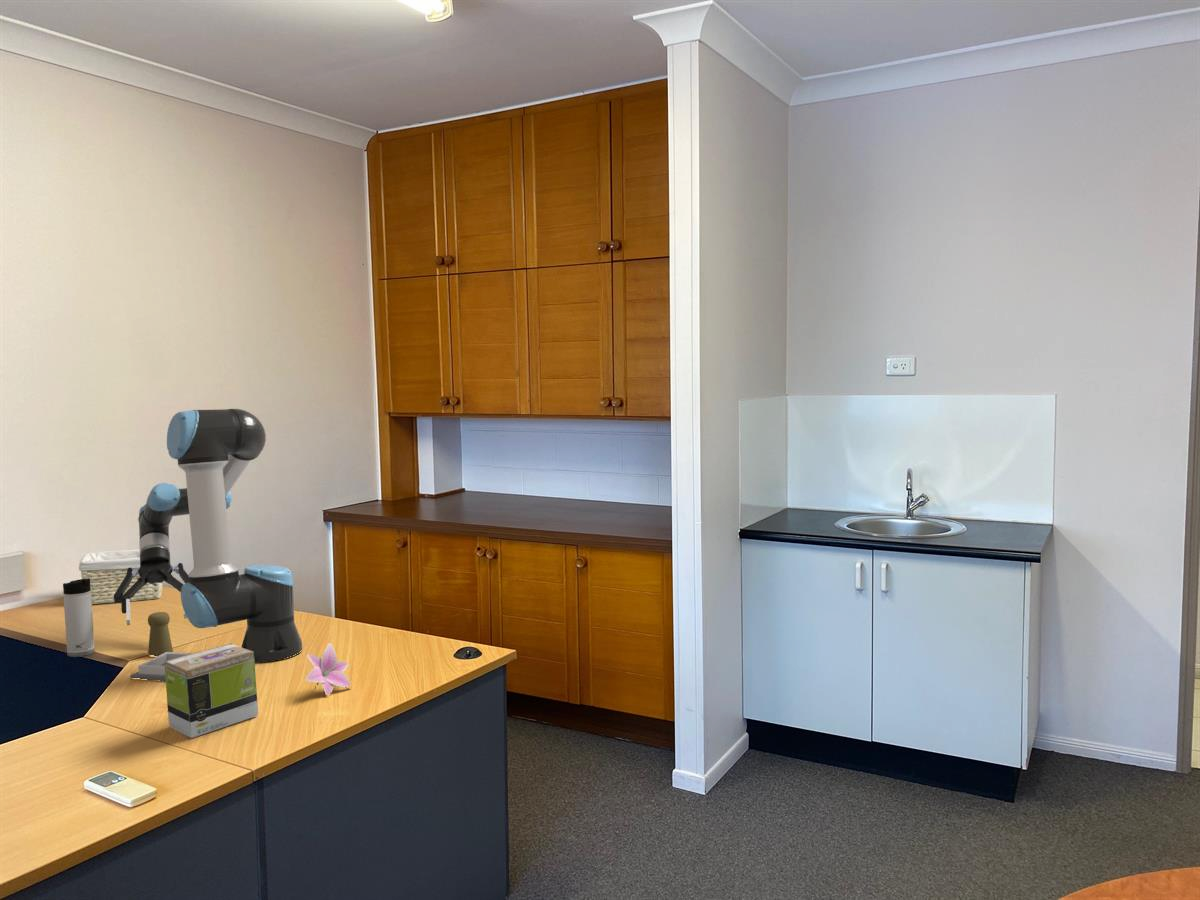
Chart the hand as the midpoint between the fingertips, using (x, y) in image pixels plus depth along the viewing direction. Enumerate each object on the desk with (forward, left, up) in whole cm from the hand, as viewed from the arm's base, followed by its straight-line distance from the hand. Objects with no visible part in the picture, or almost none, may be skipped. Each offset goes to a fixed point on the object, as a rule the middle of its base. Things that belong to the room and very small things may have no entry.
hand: (157, 619), depth 236 cm
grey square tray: (-14, +15, -8) cm, 22 cm away
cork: (-2, +3, -9) cm, 9 cm away
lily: (-59, +20, -9) cm, 63 cm away
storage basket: (+47, -47, -9) cm, 67 cm away
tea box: (-43, +42, -9) cm, 61 cm away
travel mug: (+19, +6, -9) cm, 21 cm away
